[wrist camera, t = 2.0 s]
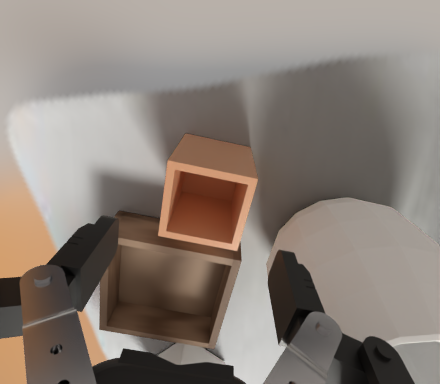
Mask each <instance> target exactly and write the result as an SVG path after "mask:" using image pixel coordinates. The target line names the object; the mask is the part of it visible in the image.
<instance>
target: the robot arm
mask: <svg viewBox="0 0 440 384" xmlns="http://www.w3.org/2000/svg"><path fill="white" fill-rule="evenodd" d="M118 235H119V219H118V218H114V217H108V216H101V217H100V218H99V219H98V221H97V222H96V223H95V224H89V223H88V224H86V225H85V226H83V227H81V228H79V229H78V230H77V231H76V232H75V233H74V234H73V235H72V237H71V238H70V239H69V240H68V241H67V243H65V244H64V245H63V246H62V248H61V249H60V250H59V251H58V252H57V253H56V254H55V255H54V257H53V258H52V259H51V260H50V261H49V262H48V263H47V264H46V265H41V266H37V267H35V268H33V269H30V270H29V271H27V272H26V273H25V274H24V275H23V276H22V277H14V278H0V339H1V338H9V337H16V336H23V342H24V354H25V366H26V378H27V384H246V383H245V382H243V381H242V380H240V379H239V378H237V377H235V376H234V368H233V366H230V365H224V364H217V363H211V362H201V363H192V364H184V365H177V364H174V363H172V362H170V361H168V360H165V359H163V358H161V357H159V356H157V355H154V354H152V353H148V352H142V351H136V350H129V349H123V351H122V353H121V356H120V358H115V359H111V360H107V361H104V362H101V363H99V364H97V365H95V366H93V367H92V365H91V361H90V358H89V354H88V350H87V346H86V343H85V339H84V335H83V332H82V328H81V324H80V321H79V317H78V313H77V311H80V312H82V311H83V309H84V307H85V305H86V304H87V302H88V300H89V299H90V297H91V295H92V293H93V292H94V290H95V288H96V287H97V285H98V283H99V282H100V280H101V278H102V276H103V275H104V273H105V271H106V270H107V268H108V266H109V265H110V263H111V261H112V259H113V258H114V256H115V254H116V251H117V247H118ZM268 288H269V293H270V299H271V305H272V310H273V316H274V322H275V327H276V333H277V339H278V344H279V346H285V347H286V349H285V350H284V352H283V353H282V355H281V356H280V358H279V360H278V361H277V363H276V364H275V366H274V367H273V369H272V371H271V372H270V374H269V375H268V377H267V378H266V380H265V382H264V383H263V384H415V383H414V381H413V379H412V377H411V376H410V374H409V372H408V370H407V368H406V366H405V364H404V362H403V360H402V359H401V357H400V355H399V354H398V352H397V351H396V350H395V349H394V348H393V347H392V346H391V345H390V344H389V343H387V342H386V341H384V340H382V339H380V338H378V337H374V336H369V337H367V338H365V340H364V341H363V342H361V341H358V340H356V339H354V338H352V337H350V336H348V335H345V334H344V333H342V331H341V329H340V327H339V325H338V324H337V323H336V321H335V320H334V319H332V318H331V317H330V316H328V315H326V314H325V311H324V308H323V306H322V303H321V301H320V298H319V295H318V293H317V290H316V289H315V285H314V282H313V280H312V277H311V275H310V272H309V271H308V270H307V269H306V267H305V266H304V265H303V264H299V263H298V262H297V259H296V256H295V253H294V252H290V251H284V250H278V251H277V253H276V256H275V258H274V261H273V264H272V266H271V269H270V272H269V275H268Z"/></svg>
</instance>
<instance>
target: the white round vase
mask: <svg viewBox="0 0 440 384" xmlns="http://www.w3.org/2000/svg"><path fill="white" fill-rule="evenodd" d="M278 250H284V251H290V252H294V253H295V256H296V259H297V262H298V263H299V264H303V265H304V266H305V267H306V269H307V270H308V271H309V272H310V275H311V277H312V280H313V282H314V285H315V289H316V290H317V293H318V295H319V298H320V301H321V303H322V306H323V308H324V311H325V314H326V315H328V316H330V317H331V318H332V319H334V320H335V321H336V323H337V324H338V325H339V327H340V329H341V331H342V333H344V334H345V335H348V336H350V337H352V338H354V339H356V340H358V341H361V342H363V341H364V340H365V338H367V337H369V336H374V337H378V338H380V339H382V340H384V341H386V342H387V343H389V344H390V345H391V346H392V347H393V348H394V349H395V350H396V351H397V352H398V354H399V355H400V357H401V359H402V360H403V362H404V364H405V366H406V368H407V370H408V372H409V374H410V376H411V377H412V379H413V381H414V383H415V384H440V245H439V244H438V243H436V242H435V241H434V240H433V239H432V238H430V237H429V236H428V235H427V234H425V233H424V232H423V231H422V230H421V229H419V228H418V227H417V226H416V225H414V224H413V223H412V222H410V221H409V220H408V219H407V218H405V217H404V216H403V215H401V214H400V213H399V212H397V211H396V210H395V209H393V208H392V207H389V206H385V205H381V204H376V203H372V202H367V201H363V200H358V199H354V198H349V197H345V198H338V199H330V200H323V201H319V202H317V203H315V204H313V205H311V206H309V207H307V208H305V209H303V210H301V211H299V212H297V213H295V214H294V215H293V216H292V218H291V219H290V220H289V221H288V222H287V223H286V224H285V225H284V226H283V227H282V228H281V229H280V230H279V232H278V235H277V237H276V240H275V242H274V245H273V248H272V250H271V253H270V256H269V258H268V261H267V263H266V265H267V273H268V275H269V272H270V269H271V266H272V264H273V261H274V258H275V256H276V253H277V251H278Z"/></svg>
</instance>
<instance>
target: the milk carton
mask: <svg viewBox="0 0 440 384" xmlns="http://www.w3.org/2000/svg"><path fill="white" fill-rule="evenodd" d="M158 356H159V357H161V358H163V359H165V360H168V361H170V362H172V363H174V364H177V365H184V364H192V363H201V362H211V363H217V364H224V365H225V362H224V361H222V360H221V359H219V358H218V357H216V356H215V355H213V354H212V353H210V352H209V351H207V350H206V349H204V348H203V347H199V346H193V345H187V344H181V343H175V344H174V345H172V346H171V347H169V348H168V349H167V350H165V351H164V352H162V353H161V354H159V355H158Z"/></svg>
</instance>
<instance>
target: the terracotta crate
mask: <svg viewBox="0 0 440 384" xmlns="http://www.w3.org/2000/svg"><path fill="white" fill-rule="evenodd" d="M257 182H258V176H257V172H256V167H255V163H254V159H253V155H252V151H251V147H247V146H243V145H238V144H233V143H229V142H224V141H219V140H215V139H210V138H205V137H201V136H196V135H191V134H187V133H185V135H184V136H183V138H182V139H181V141H180V143H179V144H178V146H177V147H176V149H175V150H174V152H173V153H172V155H171V156H170V158H169V159H168V162H167V170H166V178H165V186H164V193H163V201H162V209H161V217H160V225H159V232H158V236H161V237H166V238H172V239H177V240H182V241H187V242H192V243H198V244H203V245H208V246H213V247H219V248H224V249H229V250H234V251H237V250H238V247H239V243H240V240H241V236H242V233H243V230H244V226H245V223H246V219H247V216H248V213H249V209H250V206H251V202H252V199H253V195H254V192H255V189H256V185H257Z"/></svg>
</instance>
